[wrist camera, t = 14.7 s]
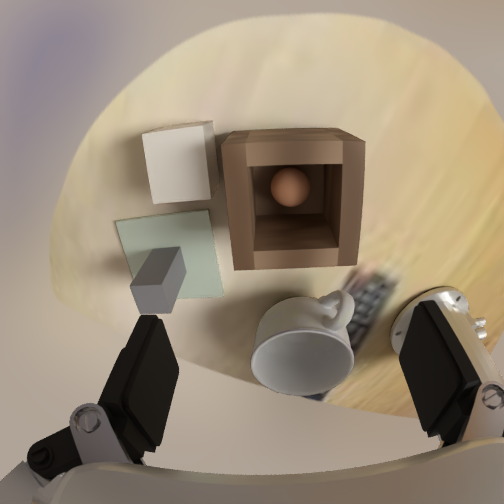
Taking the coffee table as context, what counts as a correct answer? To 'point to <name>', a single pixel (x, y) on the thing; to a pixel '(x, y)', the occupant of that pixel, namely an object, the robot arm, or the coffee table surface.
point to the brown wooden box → (298, 217)
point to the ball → (290, 187)
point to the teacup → (304, 345)
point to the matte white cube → (181, 162)
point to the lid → (170, 259)
